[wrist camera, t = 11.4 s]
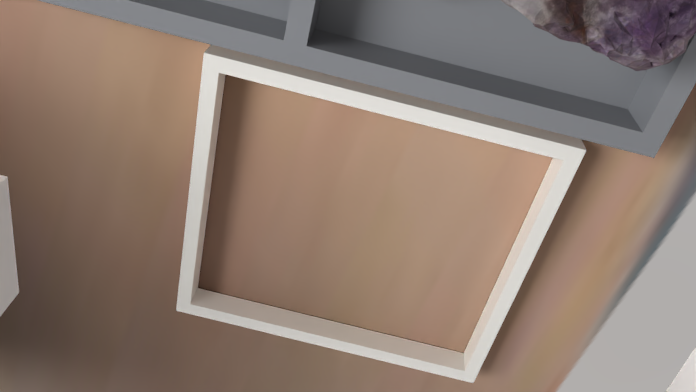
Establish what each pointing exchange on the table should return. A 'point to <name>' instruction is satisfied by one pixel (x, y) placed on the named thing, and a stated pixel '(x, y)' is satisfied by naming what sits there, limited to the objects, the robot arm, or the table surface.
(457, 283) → the table surface
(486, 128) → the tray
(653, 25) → the rock
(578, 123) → the holder
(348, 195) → the table surface
